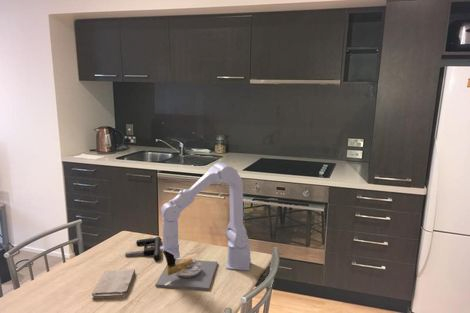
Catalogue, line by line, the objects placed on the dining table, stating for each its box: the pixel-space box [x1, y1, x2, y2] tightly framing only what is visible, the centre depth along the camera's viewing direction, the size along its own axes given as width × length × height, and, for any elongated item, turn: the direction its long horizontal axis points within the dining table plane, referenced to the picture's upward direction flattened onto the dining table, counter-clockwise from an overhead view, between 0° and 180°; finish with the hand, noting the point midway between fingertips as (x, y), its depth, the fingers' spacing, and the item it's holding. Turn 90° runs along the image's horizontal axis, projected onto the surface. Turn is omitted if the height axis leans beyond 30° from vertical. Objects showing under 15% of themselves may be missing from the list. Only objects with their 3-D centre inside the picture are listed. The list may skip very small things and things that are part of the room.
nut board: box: [155, 258, 218, 291], centre depth 139 cm, size 20×20×1 cm
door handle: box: [124, 236, 163, 262], centre depth 158 cm, size 3×20×16 cm
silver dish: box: [165, 257, 201, 278], centre depth 137 cm, size 14×10×5 cm
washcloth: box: [91, 268, 136, 300], centre depth 131 cm, size 12×18×3 cm, turn 5°
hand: (171, 268), depth 135 cm, fingers closed
